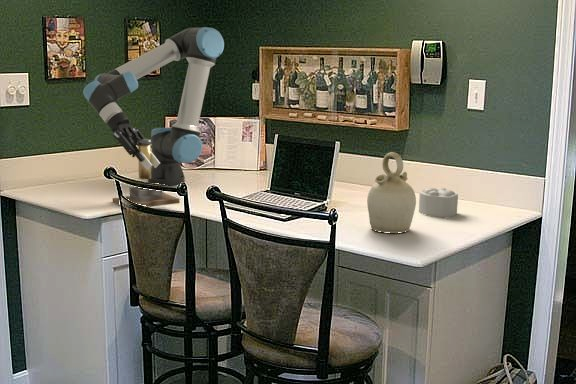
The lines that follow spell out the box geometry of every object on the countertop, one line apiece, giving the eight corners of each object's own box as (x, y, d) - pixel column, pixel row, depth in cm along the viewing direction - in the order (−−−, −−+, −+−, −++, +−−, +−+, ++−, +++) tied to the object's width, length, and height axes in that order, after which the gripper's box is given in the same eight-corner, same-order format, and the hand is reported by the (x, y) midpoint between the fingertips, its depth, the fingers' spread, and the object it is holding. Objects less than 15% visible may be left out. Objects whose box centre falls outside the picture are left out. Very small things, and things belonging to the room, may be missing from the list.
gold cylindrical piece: (148, 176, 273) (147, 138, 270) (154, 178, 269) (153, 140, 266) (135, 177, 270) (134, 139, 267) (141, 179, 266) (140, 141, 263)
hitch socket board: (162, 196, 283) (161, 181, 282) (179, 202, 272) (179, 188, 270) (112, 202, 271) (112, 187, 270) (128, 209, 260) (128, 193, 259)
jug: (381, 237, 228) (385, 156, 222) (357, 225, 241) (360, 149, 236) (424, 233, 234) (428, 154, 229) (397, 222, 247) (401, 147, 242)
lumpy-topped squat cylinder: (447, 218, 253) (449, 193, 252) (413, 213, 261) (414, 189, 259) (459, 213, 262) (461, 189, 260) (425, 208, 269) (426, 184, 267)
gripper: (123, 122, 280) (161, 169, 276) (93, 126, 264) (133, 176, 261) (134, 109, 277) (173, 156, 273) (105, 112, 261) (145, 163, 258)
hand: (153, 166), depth 267 cm, fingers closed on gold cylindrical piece, 4 cm apart
